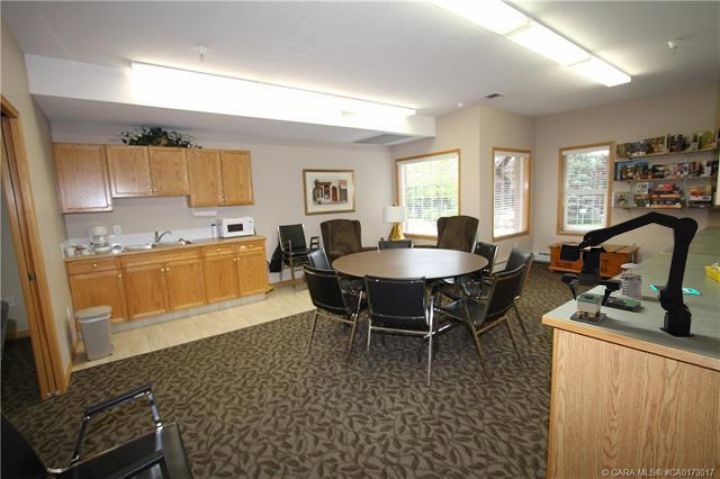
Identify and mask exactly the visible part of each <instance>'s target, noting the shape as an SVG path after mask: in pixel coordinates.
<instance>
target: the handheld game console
mask: <svg viewBox="0 0 720 479" xmlns="http://www.w3.org/2000/svg"><path fill="white" fill-rule="evenodd" d="M659 286H660V285H655V284H650V288H651V290H653V291H654V292H657V293H659ZM661 286H662V287H665V285H661ZM682 291H683V295H692V296H693V295H694V296H701V293H700V292H699V291H697V290H696V289H694V288H690V287H682Z"/></svg>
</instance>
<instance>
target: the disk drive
mask: <svg viewBox="0 0 720 479" xmlns="http://www.w3.org/2000/svg"><path fill="white" fill-rule="evenodd" d="M600 295H602V300H601V307H606V308H612V309H616V310H620V311H621V310H622V311H626V312H632V313H634V312H636V311H637V310H638V309H640V308H641V307H642V306H641V305H642V303H641V301H638V300H635V299H629V298H623V297H616V296H611V295H610V296H609V298H608V300H607V302H606V304H605V305H604V306H603V299H604V294H600Z"/></svg>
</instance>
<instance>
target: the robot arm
mask: <svg viewBox="0 0 720 479" xmlns="http://www.w3.org/2000/svg"><path fill="white" fill-rule="evenodd" d="M651 224H655V225H659V226H661V227H665V228H669V229H671V230H672V240H673V244H672V252H671V256H670V263H669V269H668V275H667V281H666V283H665V285H664V286H665V287H662V286H663V285H658V286H659V292H658V294H657V295H656V296H657V297H656V298H657V302H659V303H660V307H661V308H662V309H663V310H664V311H665V315H664V317H663V318H664V319H663V327H662V326H661V327H659V330H660V331H663V332H665V333H667V334H670V335H671V336H674V337H695V333H692V332H691V327H692V316H693V314H692V312H691V309H690V308H689V306H687V304H686V303H684V294H683V291H682V288H683V282H684V277H685V272H686V265H687V261H688V257H689V256H688V254H689V251H690V246H691V243H692V241H693V240H694V238H695V236H696V233H697V231H698V229H699V223H698V222H697V221H696V220H695V219H694V218H692V217H690V216H687V215H681V216H673V215H669V214H665V213H661V212H658V211H656V210H651V211H650V210H649V211H648V212H646V213H643V214H641V215H638V216H636V217H632V218H630V219H627V220H625V221H621V222H619V223H616V224H614V225H611V226H608V227H607V226H605V227H602V228H596V229H591V230H589V231H587V232H586V233H585V234H584V235H583V237H582V242H579V243H578V244H567V243H562V244H561V248H560V253H559V261H561V262H569V263H578V261H581V260H582V266H581V270H580V272H579V274H578V275H577V274H576V273H570V272H569V273H564V274H563V275H562V276H561V277H560V282H561V283H564V285H565V286H567V287H568V288H569V289H570V292H571V294H572V296H573V300H574V301H575V302H577V299H578V286H580V287H581V286H586V287H588V288H591V287H594V285H597V286H604V287H606V288H605V289H604V294H603V295H604V299H603V306H602V307H605V306H604V305H605V304H606V302H607V300H608V298H609V296H611V294H612V293H615V292H616V291H620V289H621V288H622V281H621V280H620V279H615V278H608V279H607V280H605V279H604V280H603V279H602V275H601V268H602V266H601V265H602V264H601V263H602V254H608V252H609V250H608V249H607V248H605V246H604V245H601V244H603V243H605V242H607V241H609V240H611V239H612V238H614V237H616V236H619V235H622V234H625V233H628V232H631V231H633V230H636V229H639V228H643V227H644V226H648V225H651ZM599 245H601V246H600V247H598V246H599ZM589 247H590V248H589ZM588 248H589V249H588Z"/></svg>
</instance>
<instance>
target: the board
mask: <svg viewBox="0 0 720 479" xmlns="http://www.w3.org/2000/svg"><path fill="white" fill-rule="evenodd" d="M602 295H603V294H601V295H600V294H599V293H592V292H585V291H584V292H582V293H581V294H580V296H578V297H577V300H576V302H577V303H576V311H577V310H579V311H584V312H590V313H595V314H596V313H597V311H598V310H599V308H600V307H602V306H601V300H602Z"/></svg>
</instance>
